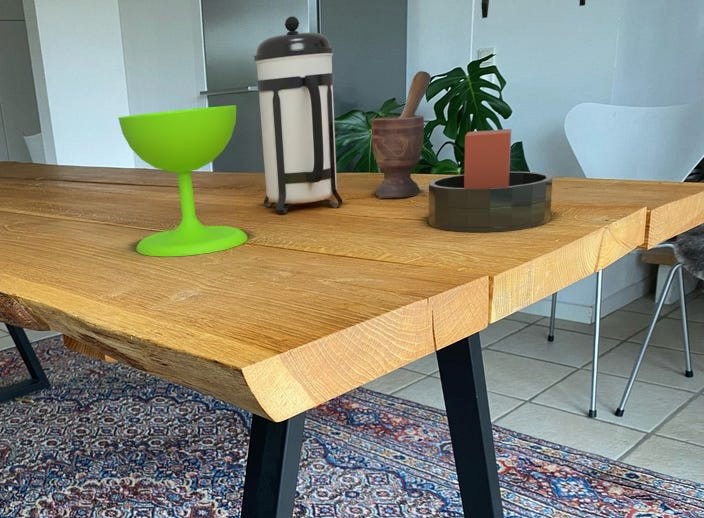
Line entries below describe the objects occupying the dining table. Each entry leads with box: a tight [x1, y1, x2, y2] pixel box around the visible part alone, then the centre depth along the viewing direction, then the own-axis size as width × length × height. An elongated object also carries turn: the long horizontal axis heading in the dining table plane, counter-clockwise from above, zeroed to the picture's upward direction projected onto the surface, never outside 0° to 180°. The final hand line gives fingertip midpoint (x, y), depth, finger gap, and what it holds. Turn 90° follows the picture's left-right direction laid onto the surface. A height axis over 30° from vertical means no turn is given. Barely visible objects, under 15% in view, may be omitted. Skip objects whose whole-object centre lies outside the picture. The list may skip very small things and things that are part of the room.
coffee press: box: [253, 15, 344, 215], centre depth 120 cm, size 17×16×30 cm
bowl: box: [428, 171, 553, 233], centre depth 99 cm, size 15×16×6 cm
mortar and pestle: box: [370, 70, 432, 200], centre depth 126 cm, size 12×9×20 cm
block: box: [463, 128, 512, 188], centre depth 99 cm, size 6×6×11 cm
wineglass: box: [117, 105, 248, 258], centre depth 102 cm, size 16×16×18 cm
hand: (532, 4), depth 110 cm, fingers open, 13 cm apart
